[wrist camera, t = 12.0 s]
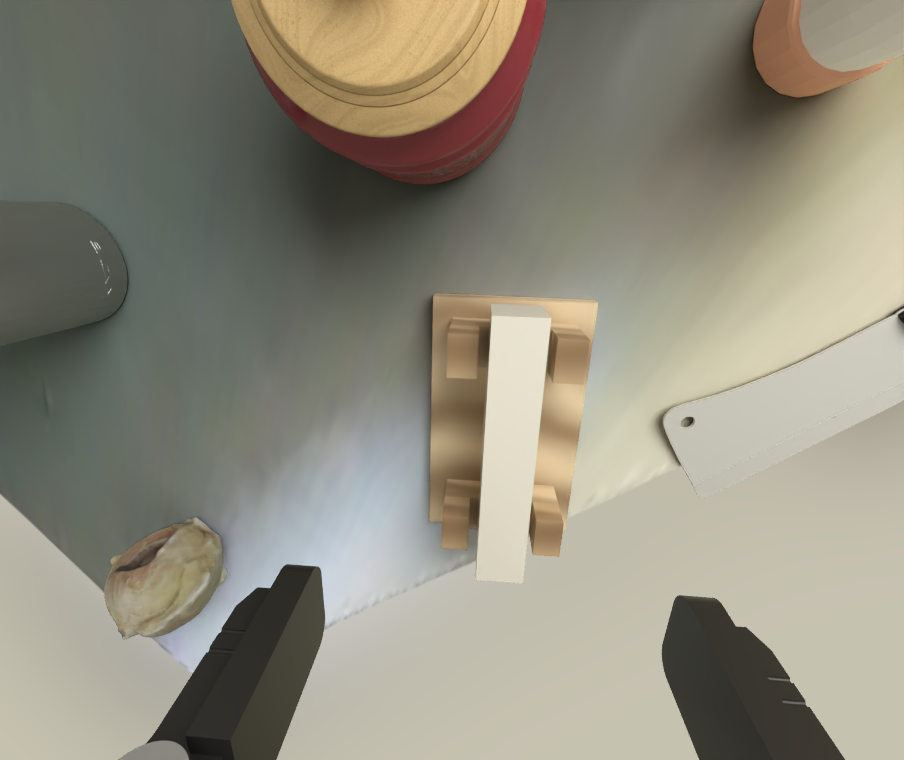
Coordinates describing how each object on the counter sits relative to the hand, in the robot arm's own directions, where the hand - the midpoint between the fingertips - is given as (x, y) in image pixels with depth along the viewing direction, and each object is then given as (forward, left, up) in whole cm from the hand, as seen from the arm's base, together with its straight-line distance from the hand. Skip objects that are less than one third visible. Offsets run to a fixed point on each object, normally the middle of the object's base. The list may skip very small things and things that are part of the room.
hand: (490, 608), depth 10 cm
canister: (-5, +17, -26) cm, 32 cm away
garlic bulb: (-28, -23, -26) cm, 45 cm away
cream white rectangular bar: (+2, -7, -22) cm, 23 cm away
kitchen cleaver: (+29, -1, -27) cm, 40 cm away
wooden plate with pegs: (+2, -7, -26) cm, 27 cm away
